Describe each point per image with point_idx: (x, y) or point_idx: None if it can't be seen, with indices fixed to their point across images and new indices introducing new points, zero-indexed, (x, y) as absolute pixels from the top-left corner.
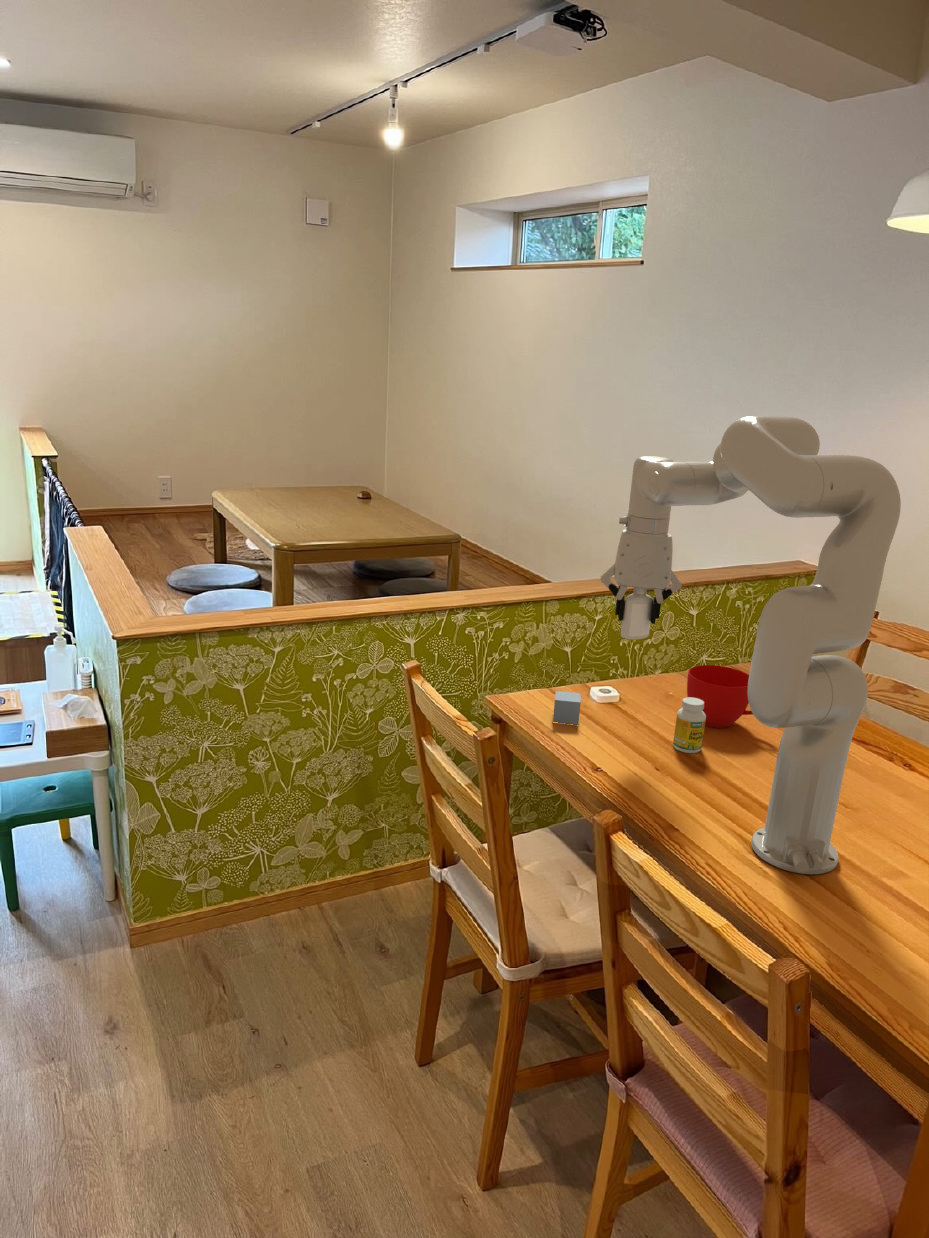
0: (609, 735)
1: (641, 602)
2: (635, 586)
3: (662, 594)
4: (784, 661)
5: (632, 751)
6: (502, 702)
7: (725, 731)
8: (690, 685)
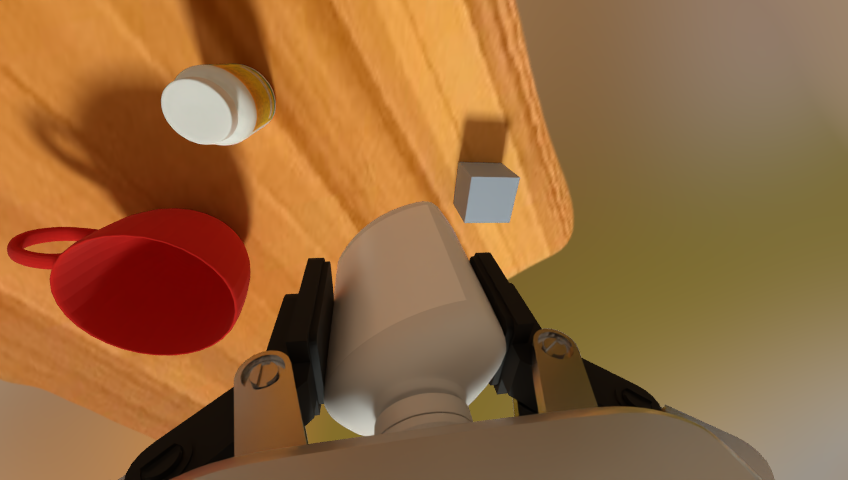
0: (405, 128)
1: (404, 329)
2: (518, 422)
3: (235, 431)
4: None
5: (362, 51)
6: (565, 226)
7: (173, 202)
8: (233, 265)
